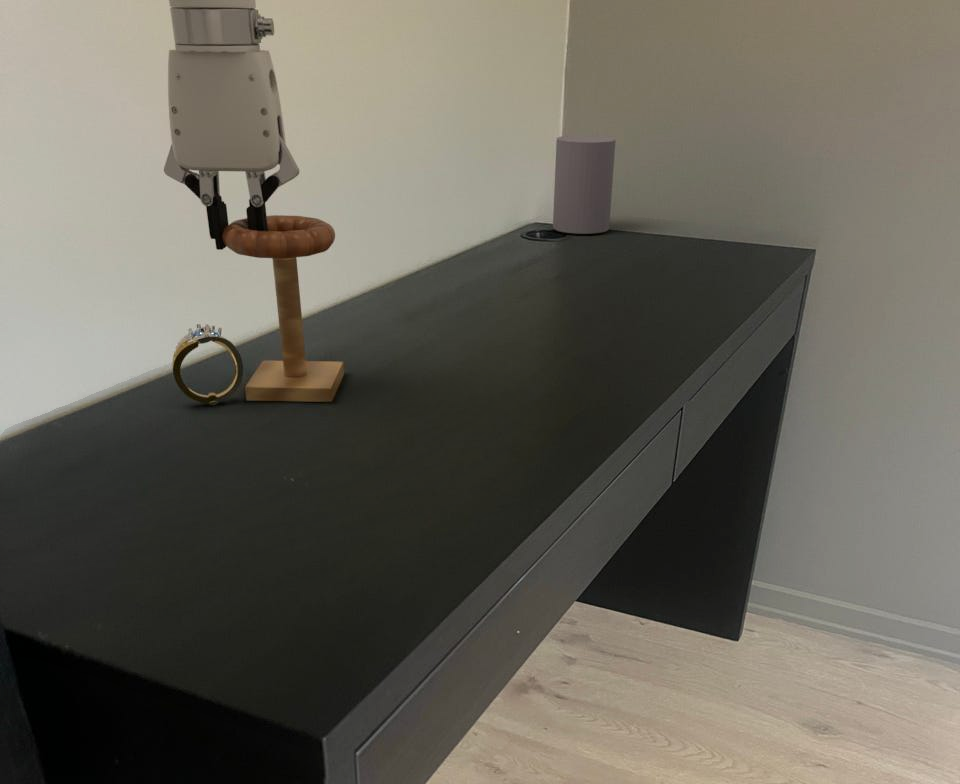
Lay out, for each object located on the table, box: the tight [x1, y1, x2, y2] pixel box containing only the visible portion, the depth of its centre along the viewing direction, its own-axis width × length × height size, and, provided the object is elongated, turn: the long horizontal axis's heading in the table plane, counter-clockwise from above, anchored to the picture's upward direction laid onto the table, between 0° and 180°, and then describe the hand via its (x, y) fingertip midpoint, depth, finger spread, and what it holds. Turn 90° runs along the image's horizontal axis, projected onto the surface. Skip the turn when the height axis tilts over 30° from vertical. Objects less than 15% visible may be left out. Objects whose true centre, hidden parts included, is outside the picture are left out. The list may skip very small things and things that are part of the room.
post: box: [244, 257, 345, 403], centre depth 103 cm, size 9×9×14 cm
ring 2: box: [222, 214, 336, 259], centre depth 98 cm, size 11×11×2 cm
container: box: [552, 134, 617, 236], centre depth 177 cm, size 10×10×15 cm
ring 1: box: [171, 323, 244, 406], centre depth 100 cm, size 7×3×8 cm, turn 107°
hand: (240, 245), depth 99 cm, fingers closed on ring 2, 2 cm apart
